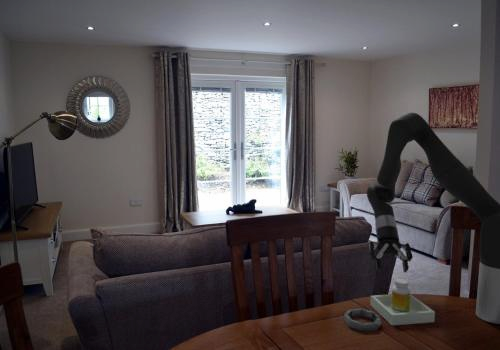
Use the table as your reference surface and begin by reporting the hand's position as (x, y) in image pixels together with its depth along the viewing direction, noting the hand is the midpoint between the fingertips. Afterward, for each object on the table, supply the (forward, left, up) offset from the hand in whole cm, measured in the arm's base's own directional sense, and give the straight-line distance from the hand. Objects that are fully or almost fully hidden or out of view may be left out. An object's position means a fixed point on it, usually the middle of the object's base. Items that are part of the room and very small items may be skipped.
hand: (393, 270), depth 137 cm
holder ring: (+18, +15, -10) cm, 25 cm away
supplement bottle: (+3, +11, -9) cm, 15 cm away
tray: (+3, +11, -10) cm, 15 cm away
